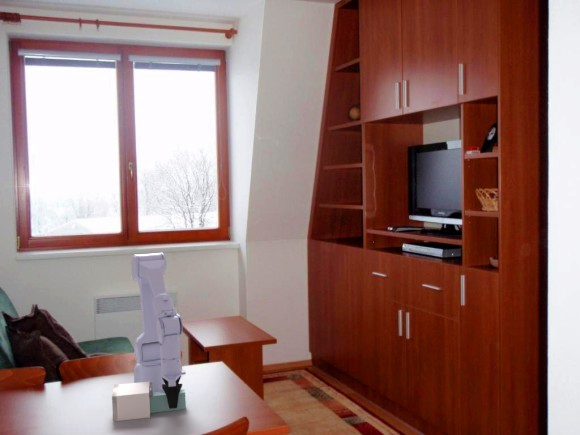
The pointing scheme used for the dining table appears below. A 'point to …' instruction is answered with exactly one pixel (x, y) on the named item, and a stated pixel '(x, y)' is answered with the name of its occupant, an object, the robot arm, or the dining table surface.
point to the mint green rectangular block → (165, 402)
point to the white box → (131, 401)
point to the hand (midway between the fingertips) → (172, 403)
